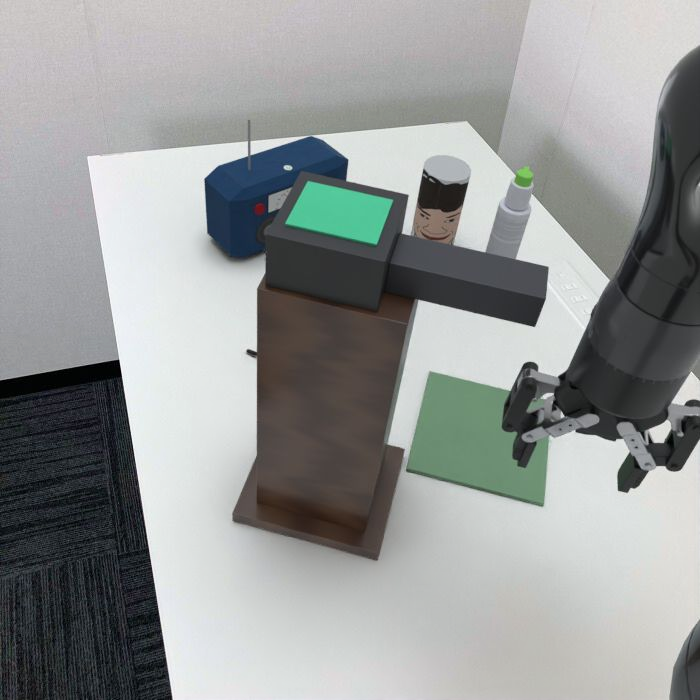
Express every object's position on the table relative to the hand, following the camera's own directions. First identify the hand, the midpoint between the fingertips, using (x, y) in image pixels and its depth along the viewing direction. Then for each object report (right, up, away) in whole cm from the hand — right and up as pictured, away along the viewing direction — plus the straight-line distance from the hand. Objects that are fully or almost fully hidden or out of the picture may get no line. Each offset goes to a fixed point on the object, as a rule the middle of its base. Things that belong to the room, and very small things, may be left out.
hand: (571, 471), depth 63 cm
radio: (-30, +29, +52) cm, 67 cm away
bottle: (+2, +19, +47) cm, 51 cm away
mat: (-3, 0, +27) cm, 27 cm away
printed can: (-7, +25, +52) cm, 58 cm away
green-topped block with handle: (-14, +16, -3) cm, 22 cm away
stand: (-22, -5, +20) cm, 30 cm away
